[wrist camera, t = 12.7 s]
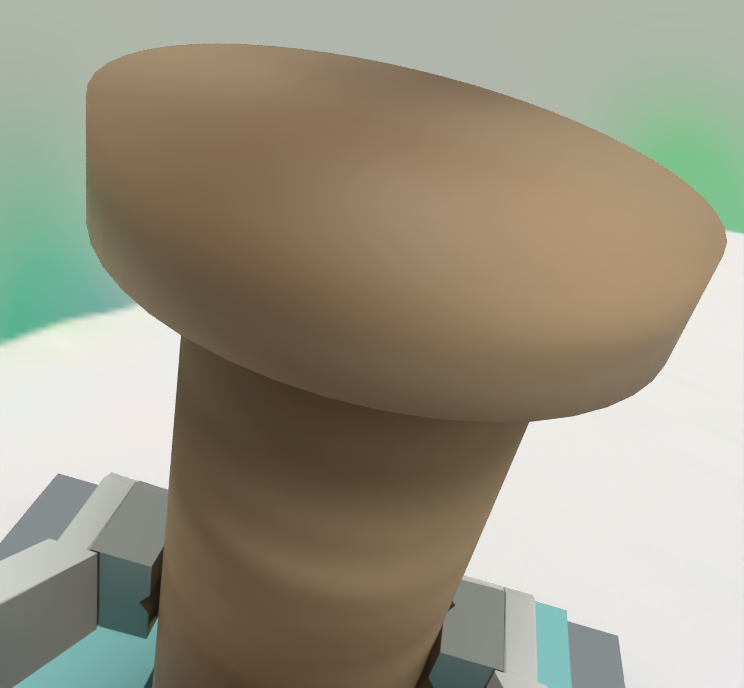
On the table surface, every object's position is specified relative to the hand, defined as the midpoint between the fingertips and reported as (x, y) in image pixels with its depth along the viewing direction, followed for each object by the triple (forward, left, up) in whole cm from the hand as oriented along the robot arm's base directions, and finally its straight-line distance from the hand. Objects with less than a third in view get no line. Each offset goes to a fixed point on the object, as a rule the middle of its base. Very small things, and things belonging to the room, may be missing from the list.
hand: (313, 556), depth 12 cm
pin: (0, +1, -9) cm, 10 cm away
